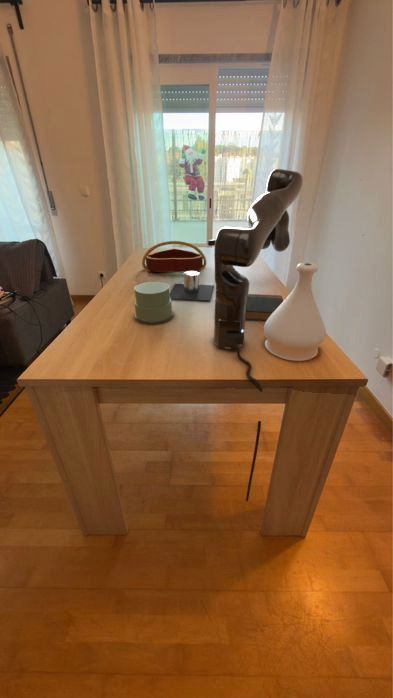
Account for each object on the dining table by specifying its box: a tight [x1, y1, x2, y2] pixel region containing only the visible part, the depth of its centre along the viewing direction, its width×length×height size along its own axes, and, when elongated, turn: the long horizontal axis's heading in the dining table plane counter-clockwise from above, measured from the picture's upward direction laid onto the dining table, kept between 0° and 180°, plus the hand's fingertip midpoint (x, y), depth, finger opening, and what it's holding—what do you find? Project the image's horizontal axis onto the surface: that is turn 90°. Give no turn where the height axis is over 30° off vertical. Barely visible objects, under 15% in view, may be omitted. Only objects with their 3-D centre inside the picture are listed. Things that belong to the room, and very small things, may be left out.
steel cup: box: [183, 271, 200, 294], centre depth 122 cm, size 7×7×8 cm
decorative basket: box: [141, 240, 207, 273], centre depth 149 cm, size 34×29×15 cm
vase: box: [263, 262, 327, 362], centre depth 80 cm, size 17×17×25 cm
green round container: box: [133, 281, 174, 325], centre depth 101 cm, size 14×14×11 cm
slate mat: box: [169, 283, 215, 303], centre depth 124 cm, size 18×18×1 cm
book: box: [246, 293, 284, 322], centre depth 108 cm, size 17×4×25 cm
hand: (212, 245), depth 116 cm, fingers open, 8 cm apart
